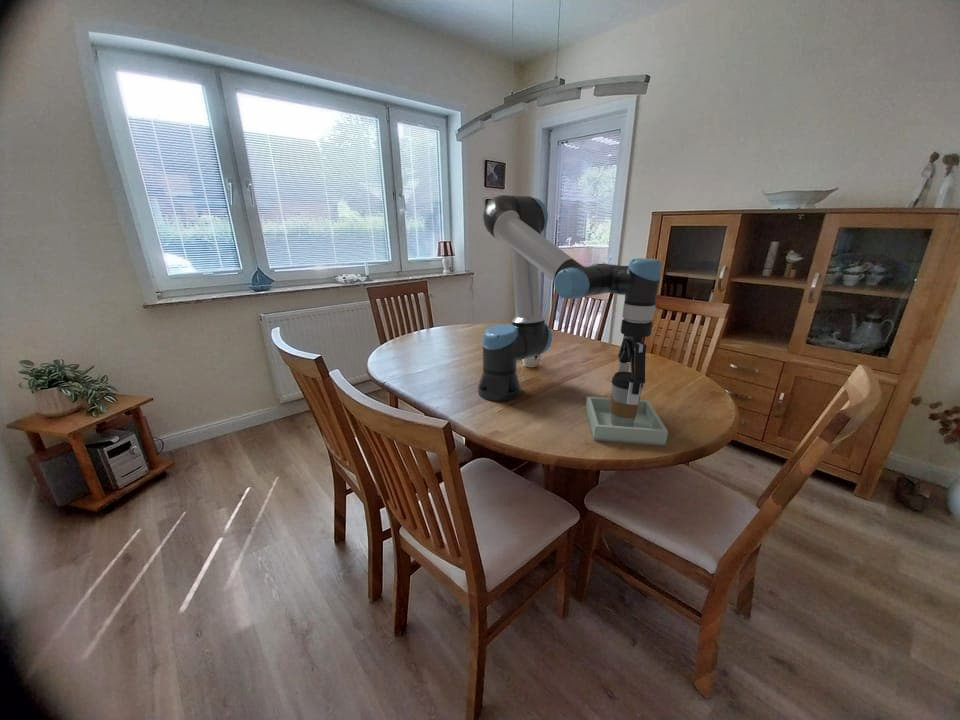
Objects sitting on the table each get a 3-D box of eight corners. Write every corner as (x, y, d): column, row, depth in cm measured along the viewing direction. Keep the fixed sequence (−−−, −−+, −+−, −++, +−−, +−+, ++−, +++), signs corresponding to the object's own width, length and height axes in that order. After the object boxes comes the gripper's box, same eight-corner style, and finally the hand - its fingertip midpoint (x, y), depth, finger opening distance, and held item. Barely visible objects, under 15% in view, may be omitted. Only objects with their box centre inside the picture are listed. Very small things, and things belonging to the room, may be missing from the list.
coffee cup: (634, 434, 100) (641, 384, 95) (603, 426, 104) (609, 378, 99) (639, 421, 106) (646, 374, 101) (610, 414, 111) (616, 369, 106)
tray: (593, 440, 98) (595, 426, 97) (585, 409, 115) (587, 396, 114) (665, 446, 96) (668, 431, 94) (646, 413, 113) (648, 400, 111)
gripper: (668, 333, 82) (653, 415, 90) (640, 310, 106) (630, 377, 113) (633, 331, 84) (622, 413, 91) (613, 309, 107) (605, 375, 114)
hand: (626, 393), depth 102 cm, fingers open, 13 cm apart
